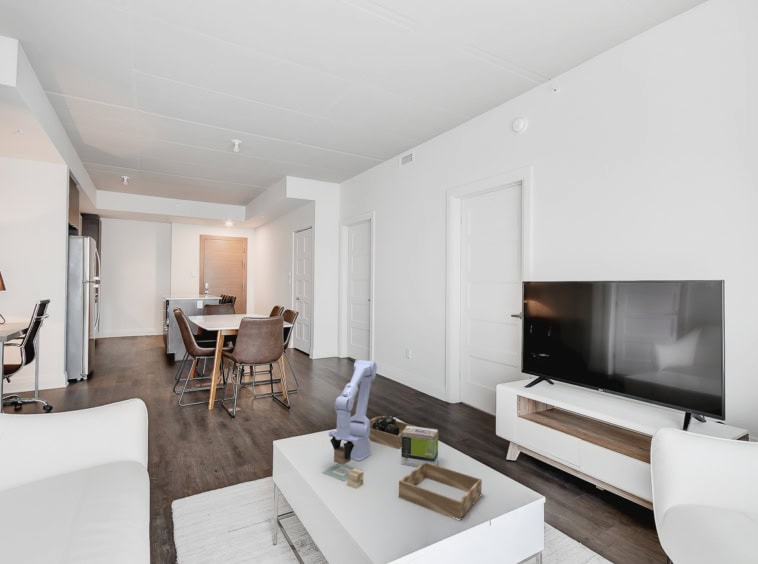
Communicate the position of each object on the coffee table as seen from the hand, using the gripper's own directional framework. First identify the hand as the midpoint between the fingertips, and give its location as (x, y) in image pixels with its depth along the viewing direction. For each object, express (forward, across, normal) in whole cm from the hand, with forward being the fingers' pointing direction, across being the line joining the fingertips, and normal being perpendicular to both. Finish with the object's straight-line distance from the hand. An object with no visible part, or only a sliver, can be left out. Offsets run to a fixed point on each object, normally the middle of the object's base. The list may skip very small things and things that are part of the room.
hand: (342, 457), depth 167 cm
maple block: (+6, +11, -5) cm, 14 cm away
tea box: (+6, +22, +28) cm, 36 cm away
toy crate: (+6, +42, +8) cm, 43 cm away
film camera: (+6, -6, +44) cm, 45 cm away
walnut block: (+2, 0, 0) cm, 2 cm away
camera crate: (+6, -6, +44) cm, 45 cm away
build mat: (+6, 0, 0) cm, 6 cm away
